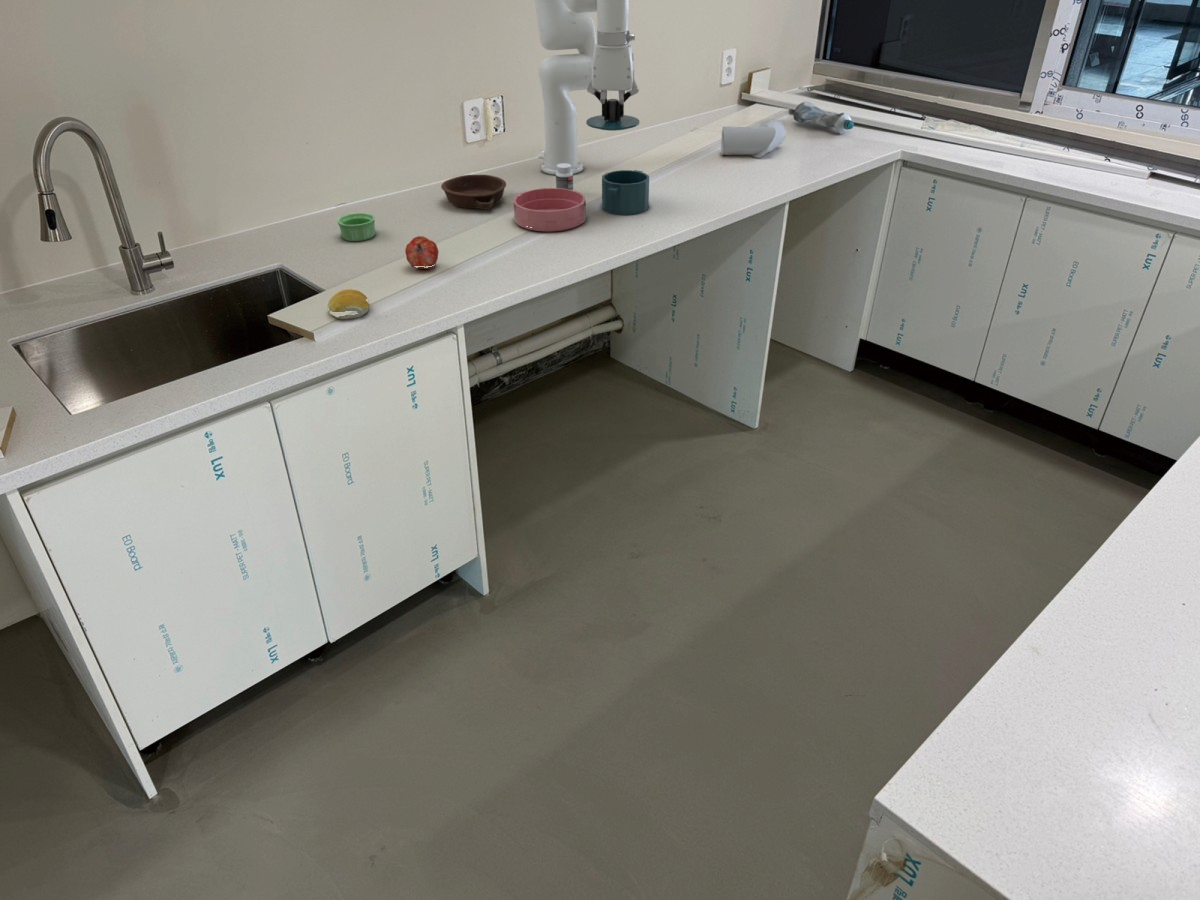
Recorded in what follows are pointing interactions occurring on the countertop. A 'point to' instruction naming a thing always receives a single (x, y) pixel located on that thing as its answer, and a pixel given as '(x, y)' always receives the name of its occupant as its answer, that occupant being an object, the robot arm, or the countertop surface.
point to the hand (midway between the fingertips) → (612, 118)
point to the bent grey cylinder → (752, 139)
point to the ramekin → (357, 226)
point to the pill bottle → (564, 176)
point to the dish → (474, 191)
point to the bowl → (549, 209)
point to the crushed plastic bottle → (822, 117)
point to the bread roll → (349, 303)
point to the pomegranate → (422, 252)
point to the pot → (625, 192)
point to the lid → (612, 119)
